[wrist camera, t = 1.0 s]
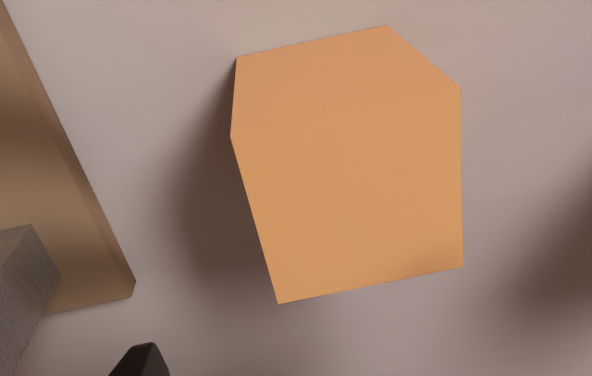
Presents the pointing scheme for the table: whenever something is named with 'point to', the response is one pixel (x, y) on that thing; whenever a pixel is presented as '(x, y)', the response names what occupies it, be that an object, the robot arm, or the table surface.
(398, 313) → the table surface
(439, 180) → the orange block
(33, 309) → the post
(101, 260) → the board
